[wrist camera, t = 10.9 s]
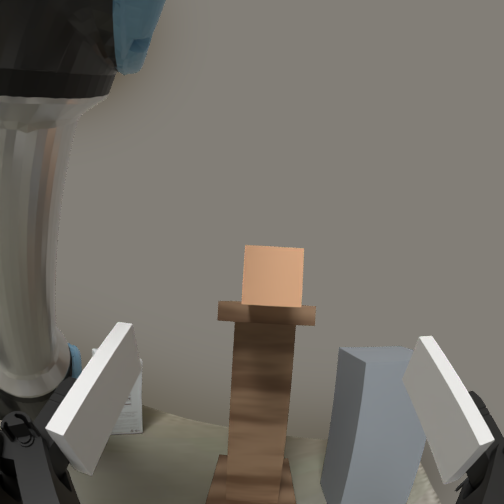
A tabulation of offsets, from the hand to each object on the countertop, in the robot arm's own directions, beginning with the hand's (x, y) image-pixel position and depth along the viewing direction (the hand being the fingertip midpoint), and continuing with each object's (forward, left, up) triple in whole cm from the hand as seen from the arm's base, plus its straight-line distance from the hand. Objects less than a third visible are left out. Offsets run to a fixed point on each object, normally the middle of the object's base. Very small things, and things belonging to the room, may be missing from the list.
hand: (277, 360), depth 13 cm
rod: (+19, +11, +2) cm, 22 cm away
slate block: (+29, -2, -28) cm, 40 cm away
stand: (+23, +14, -28) cm, 39 cm away
